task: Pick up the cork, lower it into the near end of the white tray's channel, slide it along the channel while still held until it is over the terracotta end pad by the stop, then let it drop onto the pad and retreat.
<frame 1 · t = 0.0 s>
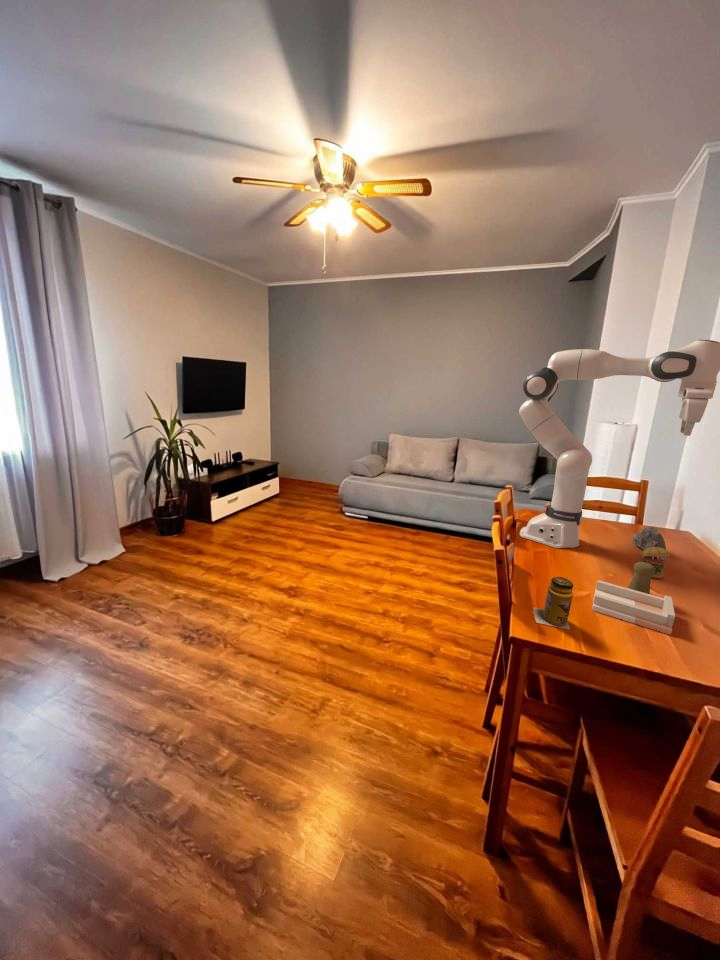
hand: (684, 434, 129), 48 cm above the table, fingers open, 8 cm apart
cork: (637, 596, 118), on the table
hamburger: (650, 575, 132), on the table
condiment: (550, 619, 105), on the table
white tray: (629, 610, 110), on the table
mineral rock: (646, 549, 154), on the table
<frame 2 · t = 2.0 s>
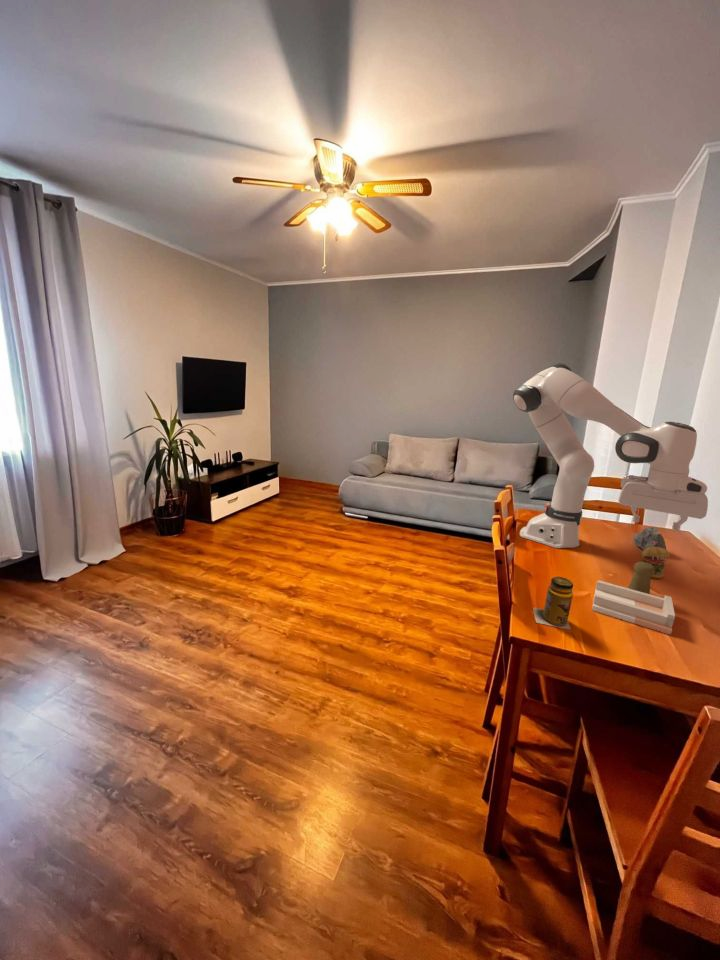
hand: (655, 525, 112), 23 cm above the table, fingers open, 8 cm apart
nothing on the table moved.
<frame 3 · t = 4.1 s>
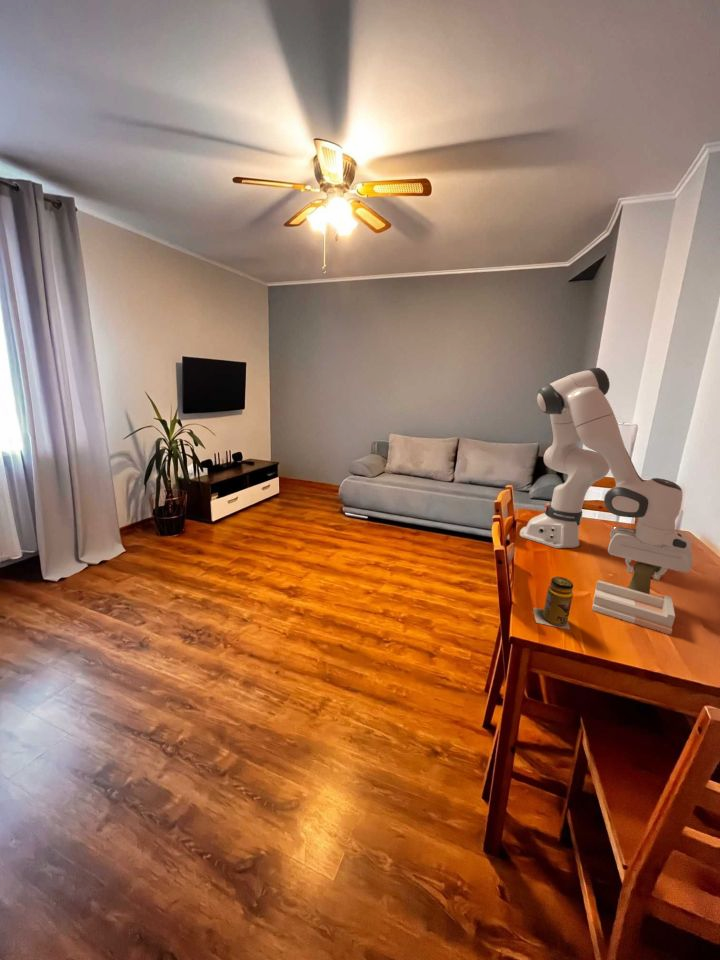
hand: (642, 575, 116), 7 cm above the table, fingers closed on cork, 5 cm apart
cork: (637, 596, 118), on the table, touching gripper
everything else where it was.
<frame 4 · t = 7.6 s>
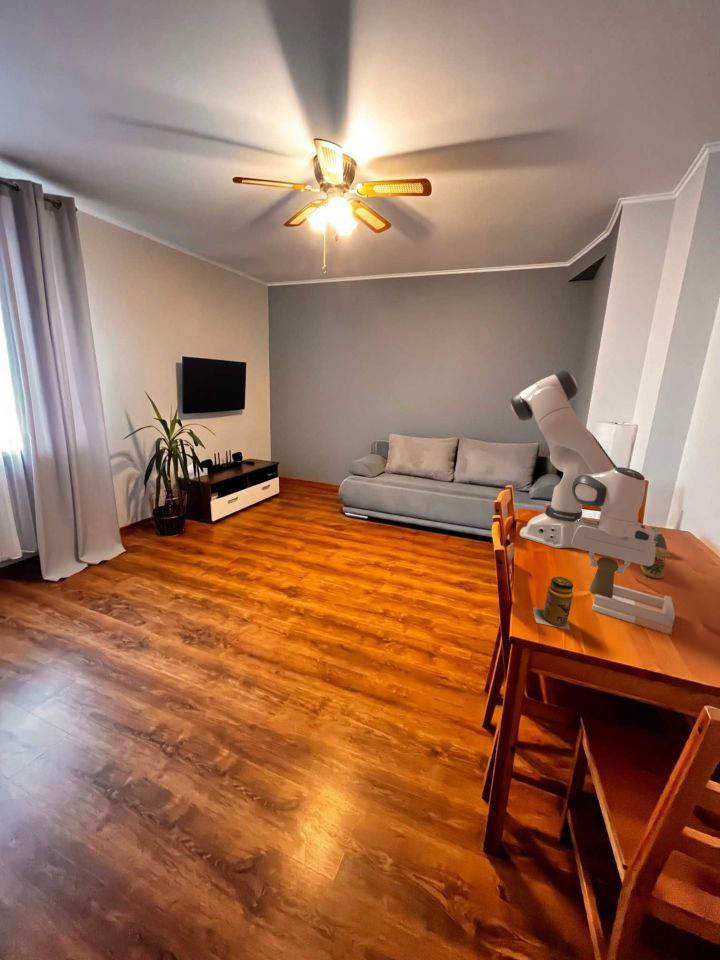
hand: (606, 569, 112), 11 cm above the table, fingers closed on cork, 5 cm apart
cork: (600, 593, 114), point 3 cm above the table, touching gripper
everything else where it was.
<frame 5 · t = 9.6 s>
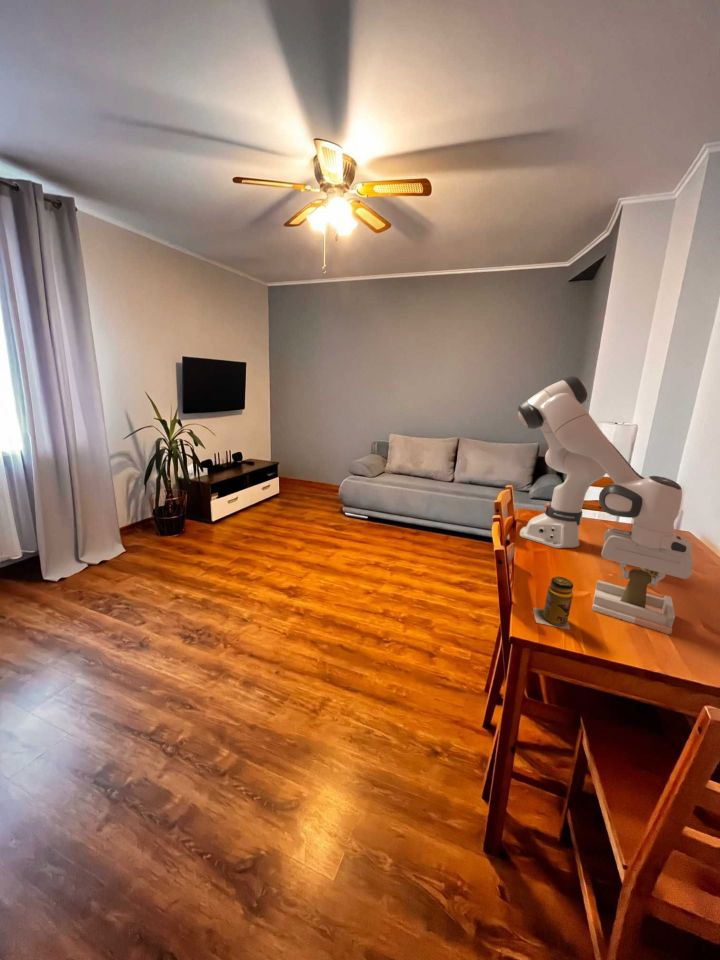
hand: (638, 581, 108), 10 cm above the table, fingers closed on cork, 5 cm apart
cork: (632, 606, 110), point 2 cm above the table, touching gripper
everything else where it was.
when the fingers open (10 cm above the table, at t = 10.8 s): cork stays where it is, resting on white tray.
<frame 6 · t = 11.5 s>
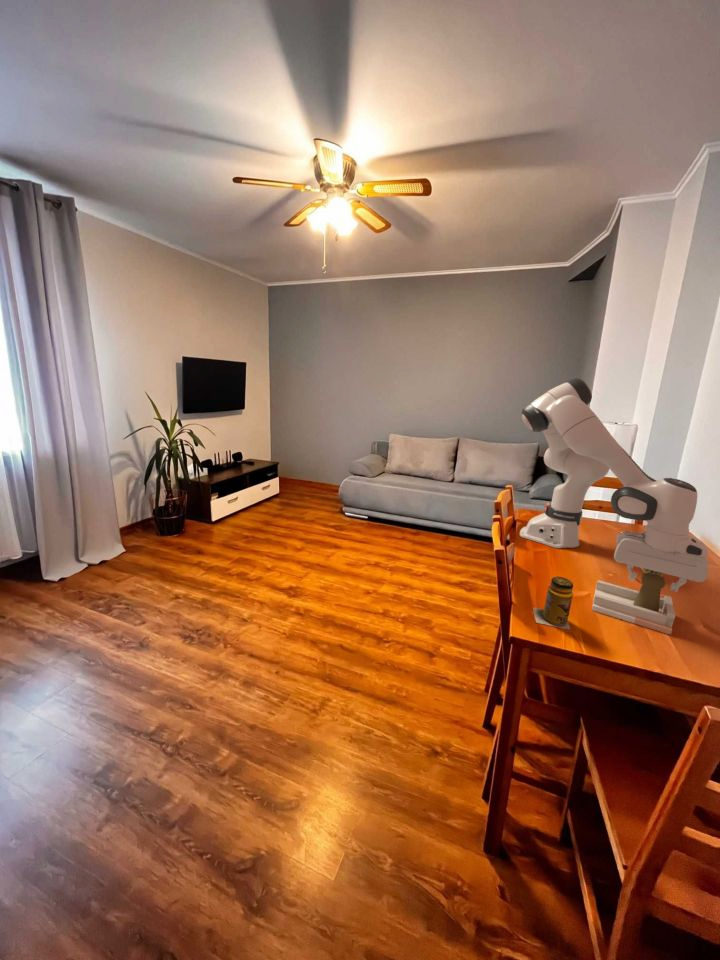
hand: (652, 584, 106), 10 cm above the table, fingers open, 8 cm apart
cork: (645, 610, 108), point 1 cm above the table, touching white tray
everything else where it was.
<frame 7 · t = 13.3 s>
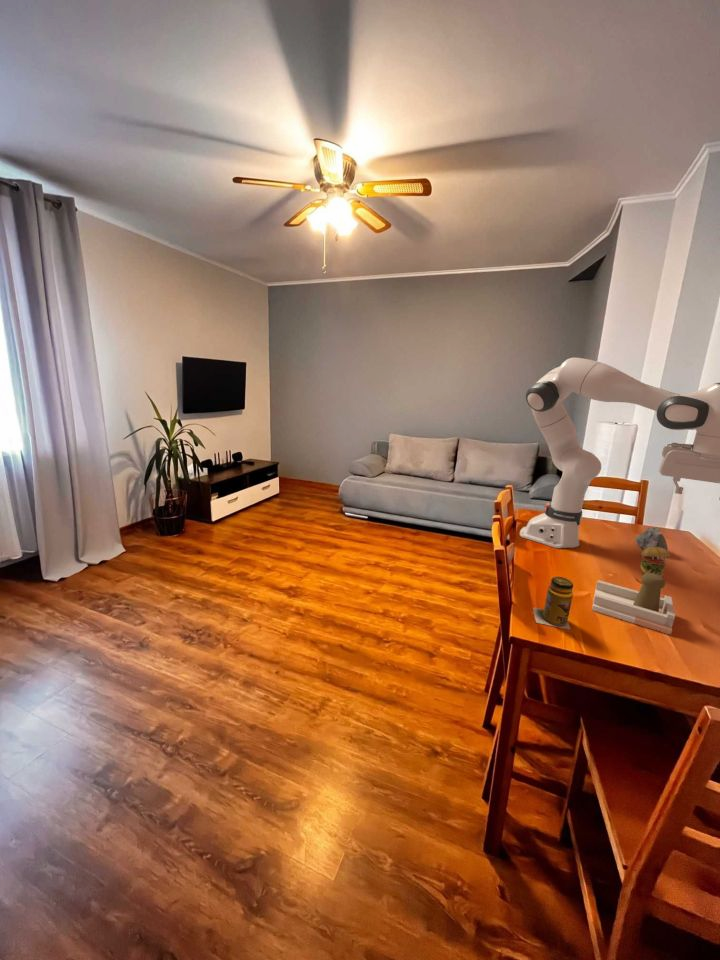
hand: (700, 496, 104), 34 cm above the table, fingers open, 8 cm apart
nothing on the table moved.
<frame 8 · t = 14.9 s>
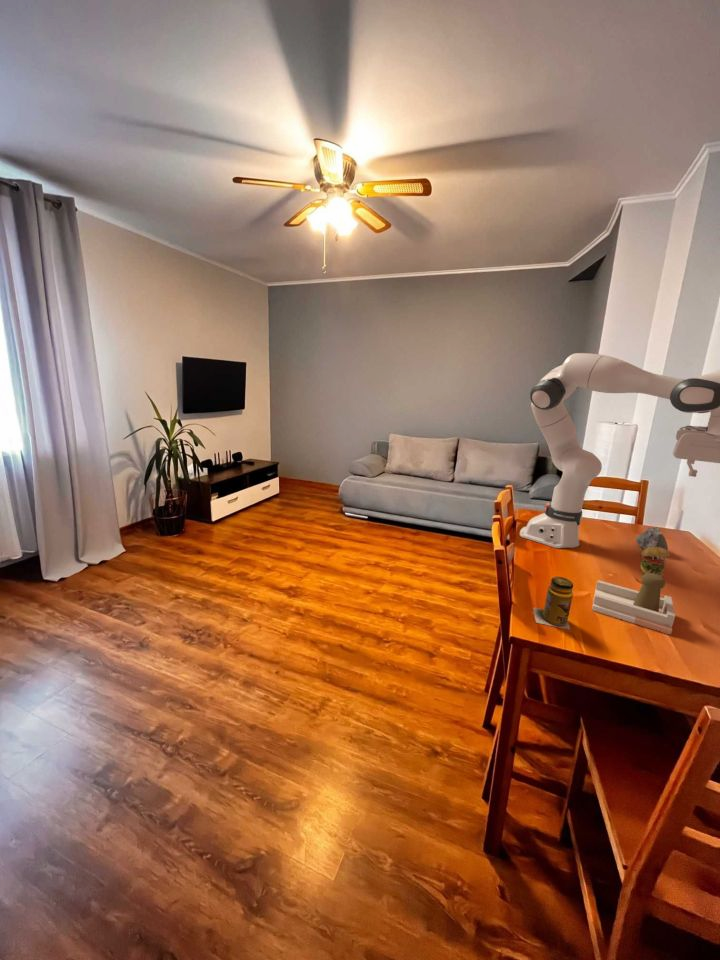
hand: (714, 479, 104), 39 cm above the table, fingers open, 8 cm apart
nothing on the table moved.
at the end: cork inside the target area on the white tray (1.6 cm from its centre), point 1.3 cm above the white tray's base; cork tilted 0°; the gripper is holding nothing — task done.
